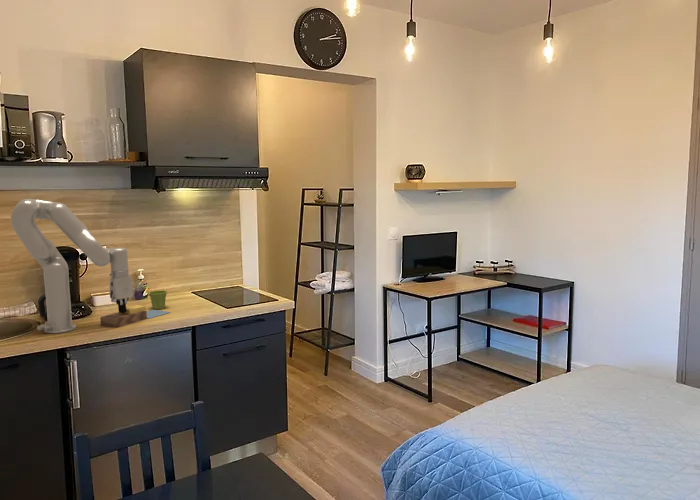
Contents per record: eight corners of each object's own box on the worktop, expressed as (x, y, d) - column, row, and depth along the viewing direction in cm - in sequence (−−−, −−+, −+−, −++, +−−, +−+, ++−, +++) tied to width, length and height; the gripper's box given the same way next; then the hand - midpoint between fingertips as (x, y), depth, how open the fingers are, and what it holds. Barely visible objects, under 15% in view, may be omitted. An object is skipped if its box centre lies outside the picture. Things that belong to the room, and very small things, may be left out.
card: (130, 314, 249) (129, 310, 249) (121, 312, 252) (121, 308, 251) (145, 310, 257) (145, 306, 256) (137, 308, 259) (136, 304, 259)
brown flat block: (115, 327, 240) (115, 319, 239) (100, 325, 244) (100, 317, 244) (146, 318, 256) (146, 310, 255) (132, 316, 260) (131, 308, 260)
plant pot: (155, 311, 271) (154, 294, 270) (145, 308, 278) (144, 292, 276) (171, 307, 278) (170, 291, 277) (162, 305, 285) (161, 289, 283)
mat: (149, 318, 256) (149, 318, 256) (131, 316, 261) (131, 315, 261) (170, 312, 268) (170, 312, 268) (153, 310, 274) (153, 309, 273)
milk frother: (62, 316, 261) (60, 287, 260) (86, 319, 255) (84, 289, 254) (36, 323, 248) (33, 292, 246) (60, 326, 242) (57, 295, 241)
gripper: (111, 277, 238) (114, 317, 240) (138, 272, 251) (140, 309, 253) (100, 276, 241) (103, 315, 244) (127, 271, 254) (129, 308, 257)
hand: (122, 312), depth 249 cm, fingers closed
